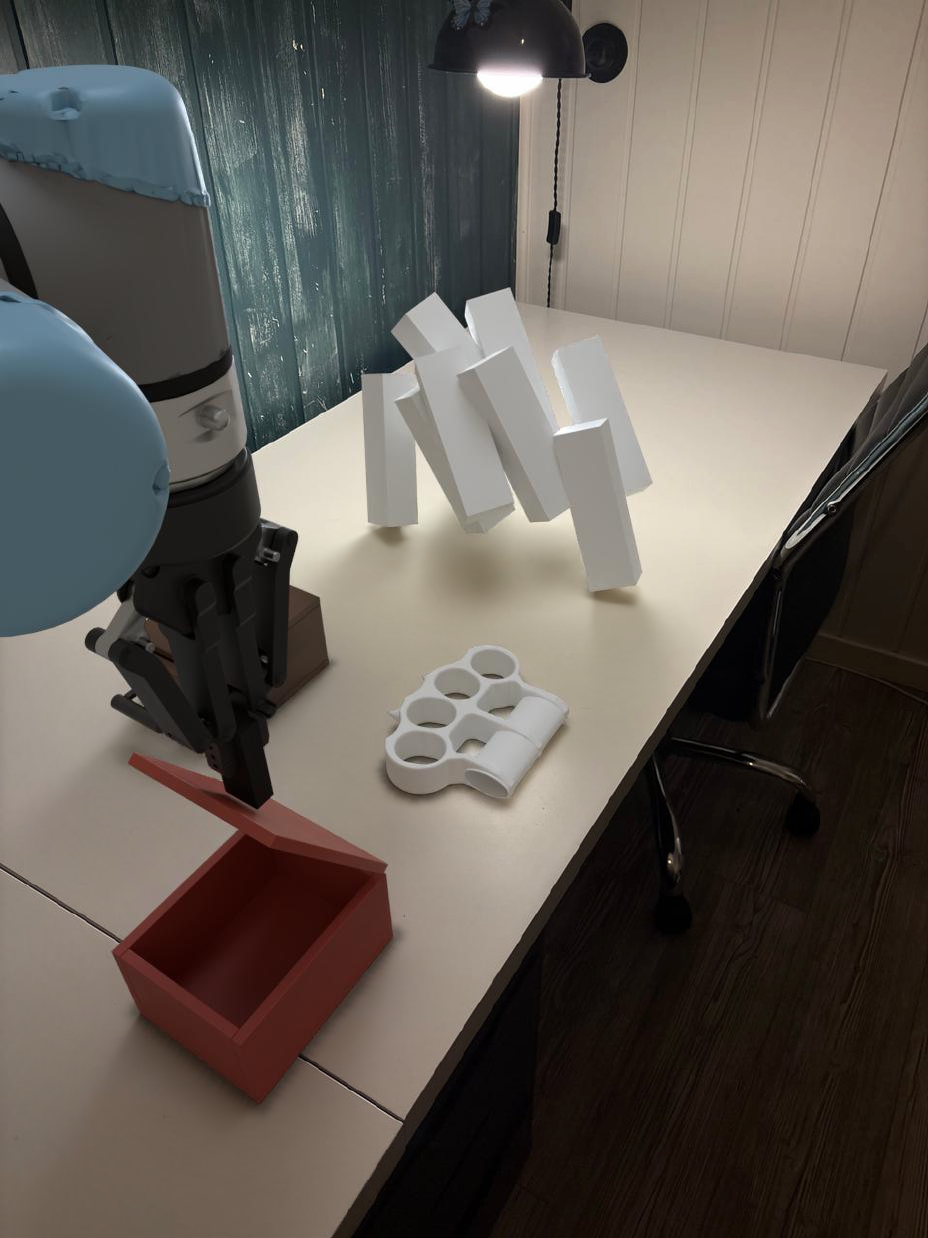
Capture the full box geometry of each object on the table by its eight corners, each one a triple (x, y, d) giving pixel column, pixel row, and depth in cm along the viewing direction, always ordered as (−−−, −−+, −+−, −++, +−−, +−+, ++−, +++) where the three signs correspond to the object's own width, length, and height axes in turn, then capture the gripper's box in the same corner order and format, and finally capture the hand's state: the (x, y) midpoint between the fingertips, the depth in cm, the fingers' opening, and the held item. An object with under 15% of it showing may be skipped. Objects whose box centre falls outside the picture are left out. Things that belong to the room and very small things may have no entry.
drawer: (184, 775, 81) (167, 720, 77) (106, 729, 86) (86, 675, 81) (308, 668, 92) (300, 615, 88) (233, 633, 96) (221, 581, 92)
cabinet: (235, 746, 85) (218, 677, 80) (149, 699, 90) (127, 632, 85) (329, 663, 94) (320, 596, 88) (246, 625, 99) (232, 560, 93)
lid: (269, 848, 50) (276, 834, 50) (126, 763, 55) (133, 751, 55) (383, 875, 64) (388, 864, 64) (260, 805, 69) (265, 795, 69)
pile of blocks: (679, 549, 118) (643, 266, 111) (649, 602, 91) (599, 231, 84) (430, 578, 130) (384, 325, 123) (337, 633, 103) (271, 311, 96)
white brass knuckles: (490, 833, 77) (349, 766, 83) (583, 703, 89) (454, 653, 95) (490, 806, 75) (346, 740, 81) (585, 678, 86) (454, 628, 93)
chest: (260, 1104, 60) (240, 1046, 55) (139, 1012, 65) (110, 951, 60) (393, 936, 69) (386, 873, 64) (278, 867, 74) (264, 804, 69)
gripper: (110, 547, 37) (217, 896, 51) (321, 420, 45) (361, 751, 60) (-5, 496, 40) (127, 838, 55) (211, 386, 48) (275, 708, 63)
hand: (249, 792), depth 57 cm, fingers closed
